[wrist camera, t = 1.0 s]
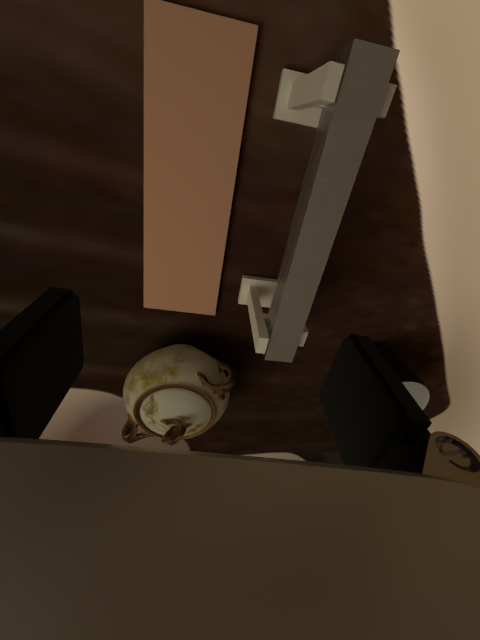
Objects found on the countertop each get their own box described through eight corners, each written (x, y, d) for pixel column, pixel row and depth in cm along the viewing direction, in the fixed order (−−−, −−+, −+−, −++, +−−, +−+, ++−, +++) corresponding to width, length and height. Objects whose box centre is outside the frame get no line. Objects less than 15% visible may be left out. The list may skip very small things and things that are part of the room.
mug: (331, 359, 50) (354, 406, 42) (377, 327, 47) (412, 371, 39) (367, 393, 55) (395, 441, 47) (411, 366, 52) (449, 412, 44)
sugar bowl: (204, 301, 43) (198, 373, 30) (257, 365, 50) (270, 445, 37) (104, 362, 48) (63, 446, 35) (165, 412, 55) (150, 497, 42)
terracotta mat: (145, -1, 26) (143, -5, 25) (257, 28, 27) (258, 25, 27) (145, 304, 42) (143, 307, 42) (215, 312, 44) (214, 315, 43)
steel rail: (337, 49, 22) (354, 38, 19) (377, 59, 22) (399, 50, 20) (260, 342, 36) (264, 359, 33) (286, 345, 36) (291, 362, 34)
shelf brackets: (282, 70, 29) (320, 35, 18) (357, 88, 30) (435, 66, 19) (237, 300, 43) (244, 359, 32) (291, 306, 44) (315, 365, 33)
